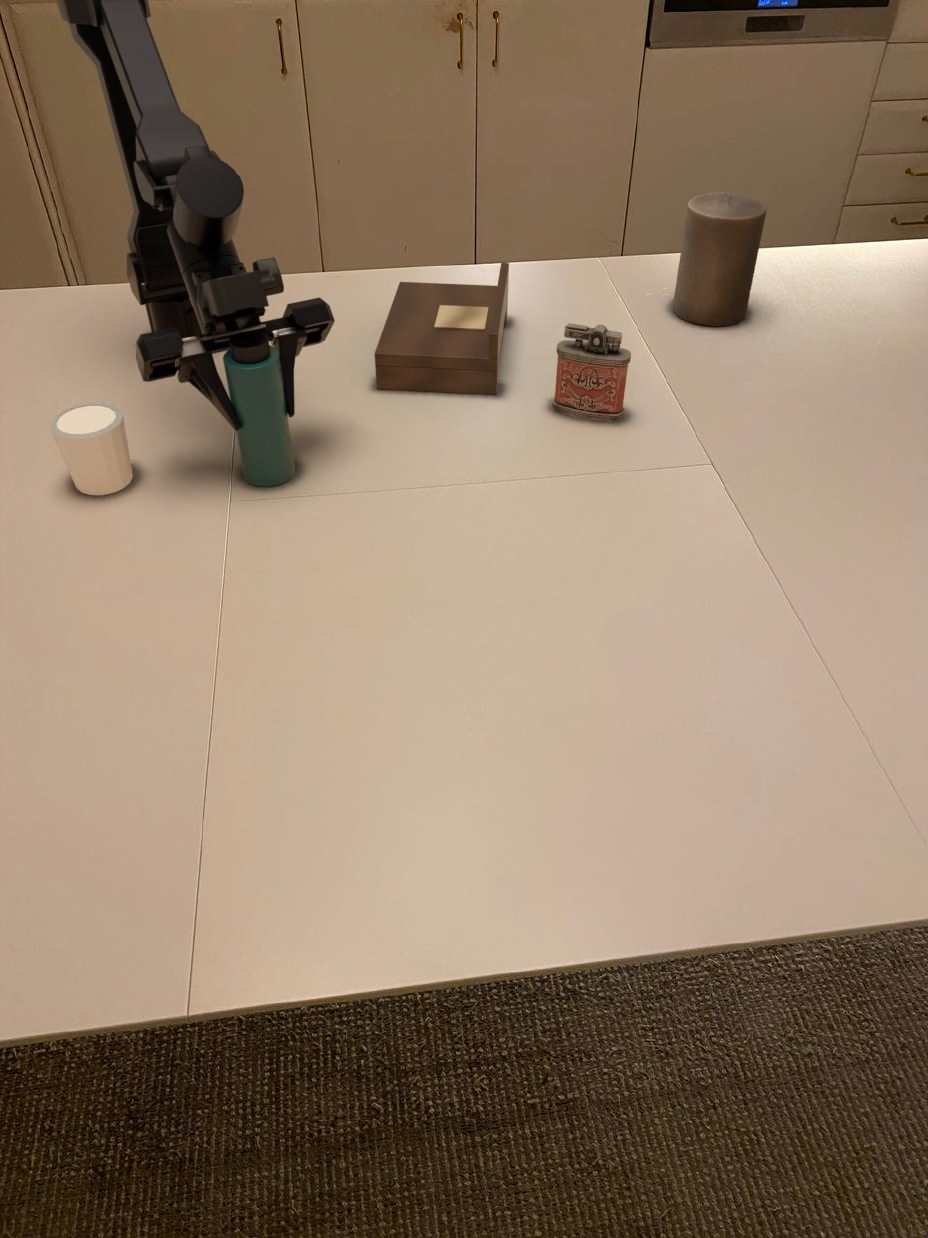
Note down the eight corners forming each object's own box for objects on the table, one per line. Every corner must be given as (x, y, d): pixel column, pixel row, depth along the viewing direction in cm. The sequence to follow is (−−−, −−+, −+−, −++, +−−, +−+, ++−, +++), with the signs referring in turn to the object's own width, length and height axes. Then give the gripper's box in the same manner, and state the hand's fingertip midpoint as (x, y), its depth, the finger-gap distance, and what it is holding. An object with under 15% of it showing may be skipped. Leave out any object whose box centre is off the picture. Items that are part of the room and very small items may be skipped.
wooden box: (376, 388, 111) (372, 327, 106) (401, 314, 125) (398, 258, 120) (496, 394, 110) (498, 333, 105) (507, 319, 125) (509, 262, 119)
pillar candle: (758, 322, 124) (784, 203, 114) (688, 330, 122) (709, 210, 112) (726, 292, 131) (748, 177, 121) (660, 299, 129) (676, 183, 119)
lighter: (626, 410, 107) (637, 325, 101) (619, 424, 105) (630, 339, 98) (556, 398, 109) (563, 315, 102) (549, 412, 107) (554, 328, 100)
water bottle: (233, 478, 97) (208, 344, 87) (264, 454, 100) (243, 322, 91) (275, 492, 95) (253, 357, 85) (305, 466, 99) (288, 334, 89)
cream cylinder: (120, 502, 94) (102, 441, 89) (56, 494, 95) (34, 433, 90) (150, 465, 99) (135, 404, 94) (89, 457, 100) (71, 397, 95)
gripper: (113, 247, 81) (173, 420, 82) (317, 212, 88) (373, 372, 88) (114, 302, 92) (168, 455, 92) (297, 266, 98) (347, 409, 99)
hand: (265, 422), depth 92 cm, fingers closed on water bottle, 5 cm apart
